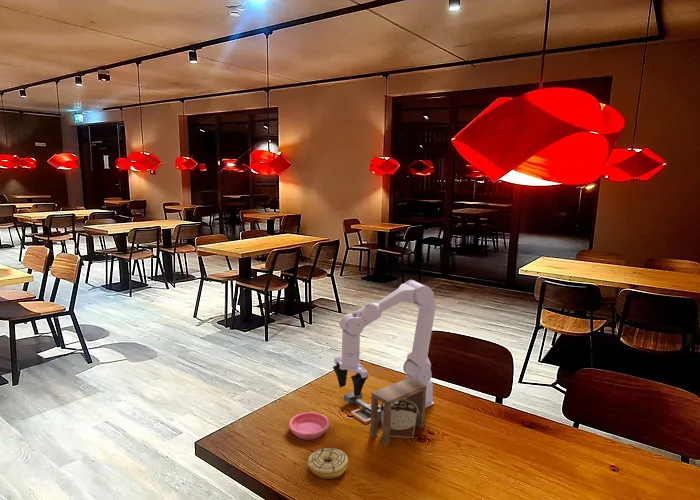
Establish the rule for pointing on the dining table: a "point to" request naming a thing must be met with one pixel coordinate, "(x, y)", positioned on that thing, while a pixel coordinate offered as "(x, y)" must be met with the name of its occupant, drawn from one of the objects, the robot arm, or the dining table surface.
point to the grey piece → (359, 402)
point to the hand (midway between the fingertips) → (349, 390)
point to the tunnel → (393, 394)
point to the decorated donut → (328, 463)
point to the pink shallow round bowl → (309, 425)
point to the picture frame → (363, 414)
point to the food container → (401, 418)
